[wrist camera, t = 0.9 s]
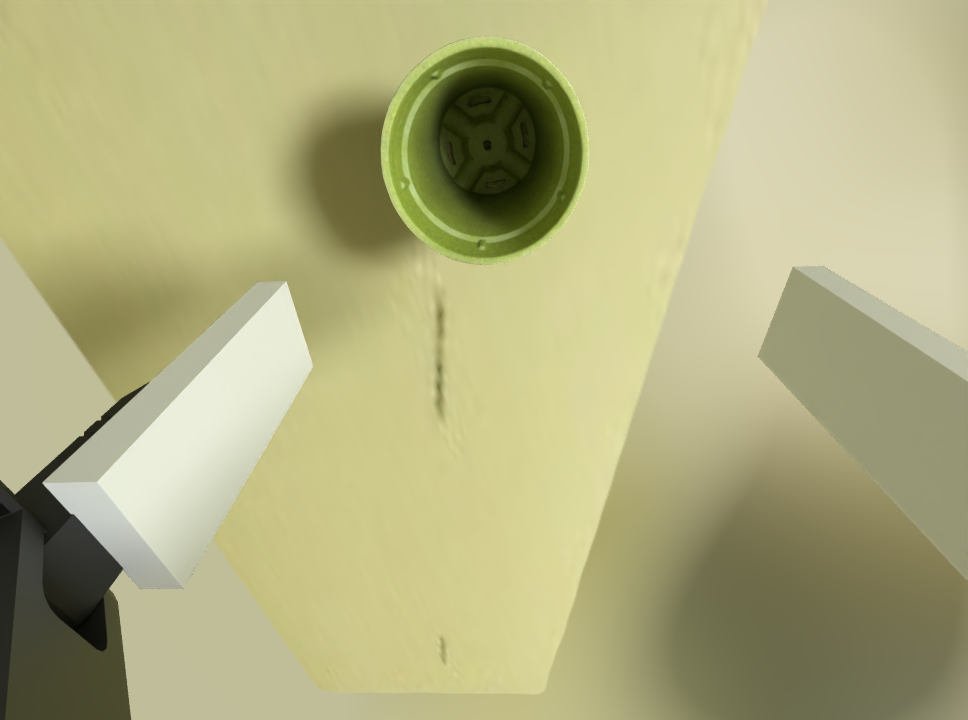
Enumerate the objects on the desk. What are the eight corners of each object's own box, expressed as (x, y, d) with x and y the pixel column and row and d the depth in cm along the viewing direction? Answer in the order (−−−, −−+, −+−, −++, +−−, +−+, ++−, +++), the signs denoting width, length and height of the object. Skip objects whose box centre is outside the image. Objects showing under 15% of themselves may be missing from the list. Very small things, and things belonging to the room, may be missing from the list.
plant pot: (388, 77, 25) (345, 76, 18) (549, 26, 24) (574, 2, 16) (437, 233, 30) (419, 283, 23) (573, 199, 28) (600, 240, 21)
